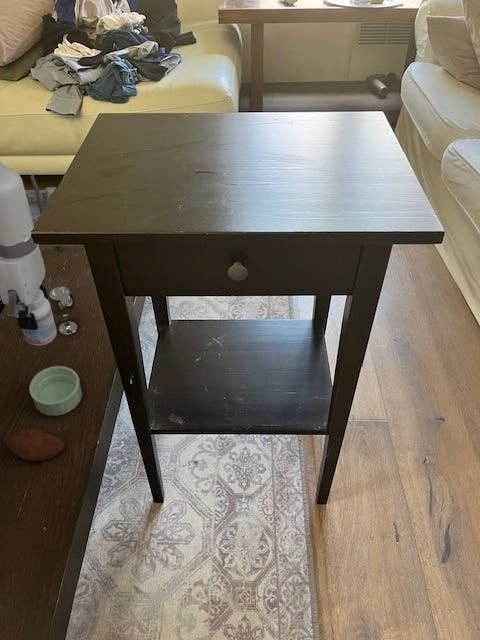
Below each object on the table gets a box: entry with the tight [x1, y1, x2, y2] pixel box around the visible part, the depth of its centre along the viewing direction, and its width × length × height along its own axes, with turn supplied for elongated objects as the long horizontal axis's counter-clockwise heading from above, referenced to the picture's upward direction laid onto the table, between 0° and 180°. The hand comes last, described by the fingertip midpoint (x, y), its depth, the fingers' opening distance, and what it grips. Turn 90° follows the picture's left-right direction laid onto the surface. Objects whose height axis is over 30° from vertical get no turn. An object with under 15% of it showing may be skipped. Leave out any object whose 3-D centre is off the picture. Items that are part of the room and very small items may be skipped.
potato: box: [5, 428, 65, 462], centre depth 99 cm, size 6×12×6 cm, turn 89°
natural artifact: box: [29, 174, 62, 250], centre depth 145 cm, size 4×23×4 cm
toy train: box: [25, 186, 57, 225], centre depth 153 cm, size 11×28×15 cm
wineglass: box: [48, 286, 78, 336], centre depth 121 cm, size 6×6×12 cm
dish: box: [29, 365, 83, 417], centre depth 109 cm, size 10×10×5 cm
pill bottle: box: [19, 289, 58, 347], centre depth 96 cm, size 6×6×11 cm
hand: (35, 314), depth 96 cm, fingers closed on pill bottle, 6 cm apart
